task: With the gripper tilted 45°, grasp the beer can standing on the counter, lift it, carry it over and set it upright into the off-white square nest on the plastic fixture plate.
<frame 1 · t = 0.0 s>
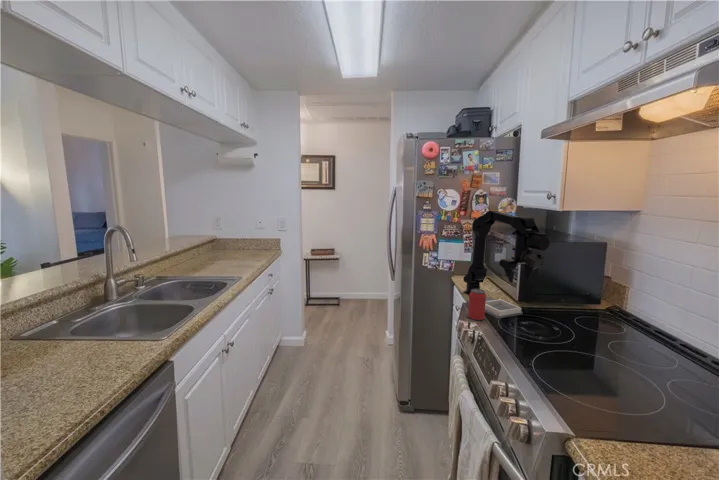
hand: (519, 281, 138), 15 cm above the worktop, tool pointing down, fingers open, 9 cm apart
beer can: (475, 318, 136), on the worktop
fixture plate: (493, 308, 146), on the worktop
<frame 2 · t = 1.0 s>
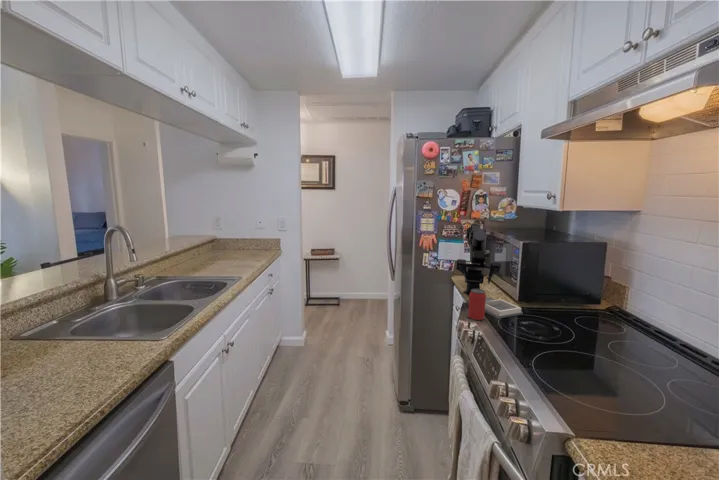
hand: (477, 282, 141), 13 cm above the worktop, tool tilted 45°, fingers open, 9 cm apart
nothing on the worktop moved.
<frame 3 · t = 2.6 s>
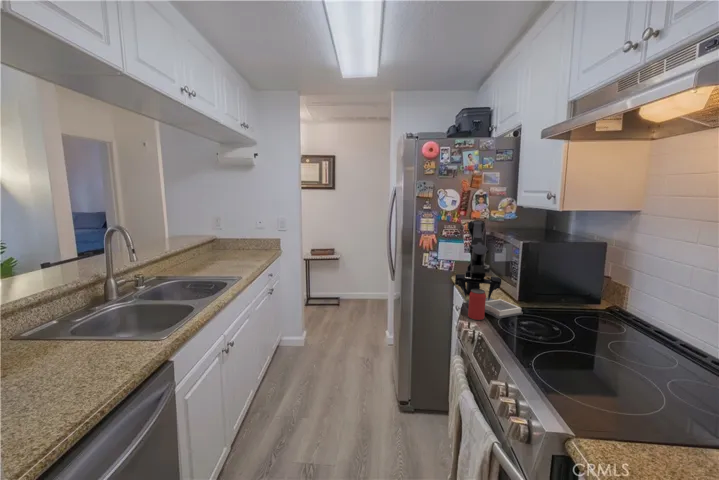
hand: (477, 298, 135), 8 cm above the worktop, tool tilted 45°, fingers open, 9 cm apart
nothing on the worktop moved.
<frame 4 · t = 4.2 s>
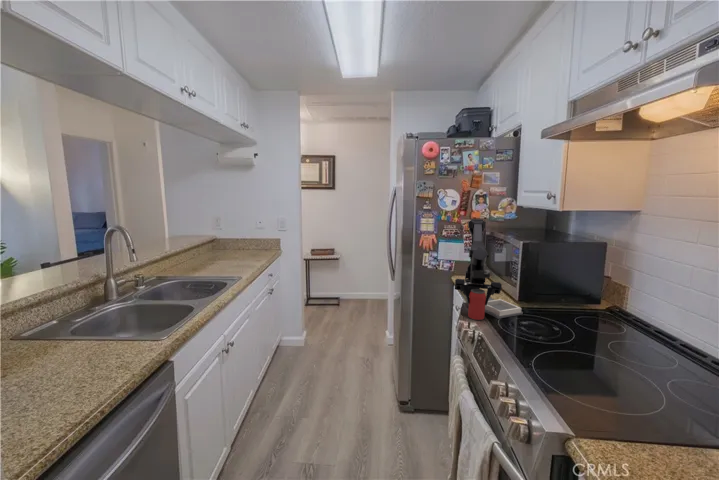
hand: (477, 304, 133), 7 cm above the worktop, tool tilted 45°, fingers closed on beer can, 7 cm apart
beer can: (475, 318, 136), on the worktop, touching gripper
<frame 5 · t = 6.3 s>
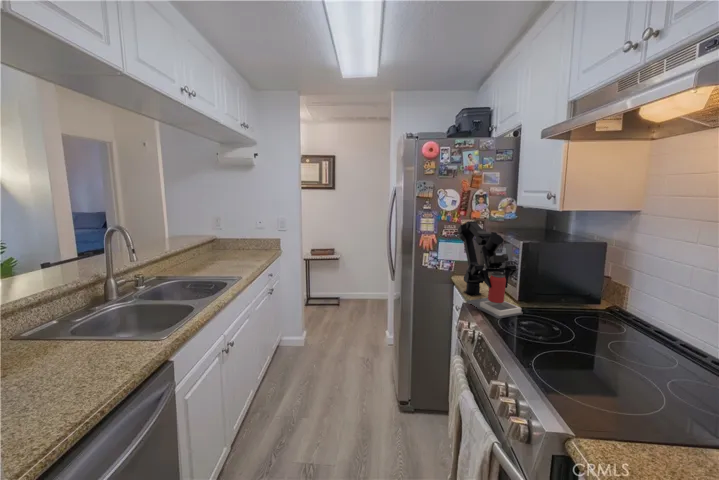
hand: (498, 287, 137), 12 cm above the worktop, tool tilted 45°, fingers closed on beer can, 7 cm apart
beer can: (495, 301, 140), point 5 cm above the worktop, touching gripper
when the fingers open (9 cm above the worktop, at t = 8.4 s): beer can drops 1 cm, resting on fixture plate.
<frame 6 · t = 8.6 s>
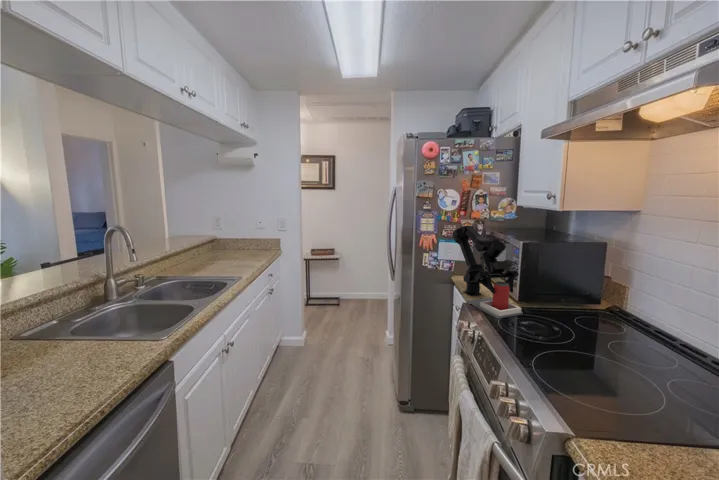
hand: (503, 293, 140), 9 cm above the worktop, tool tilted 45°, fingers open, 8 cm apart
beer can: (499, 309, 143), point 1 cm above the worktop, touching fixture plate
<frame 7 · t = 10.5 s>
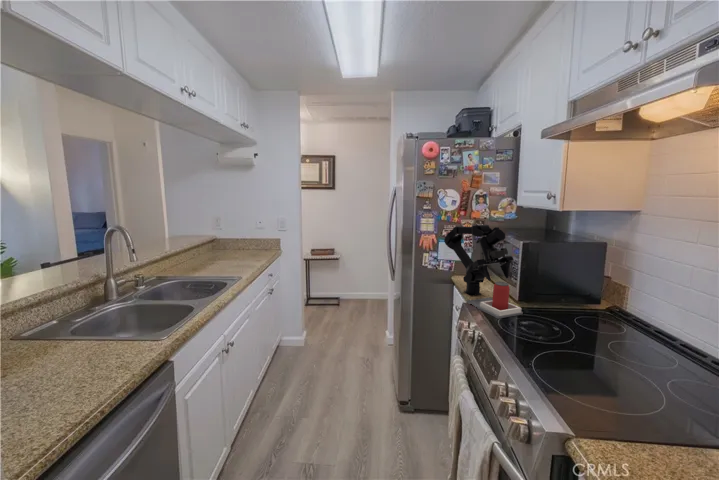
hand: (498, 279, 148), 13 cm above the worktop, tool tilted 35°, fingers open, 9 cm apart
nothing on the worktop moved.
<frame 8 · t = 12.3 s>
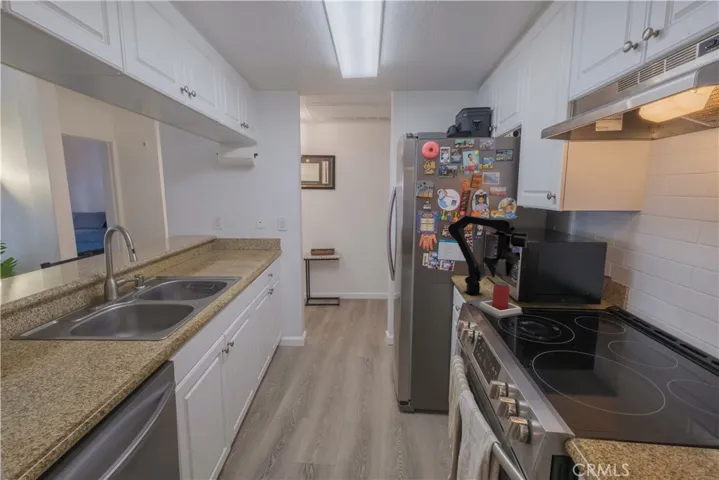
hand: (500, 276, 156), 12 cm above the worktop, tool pointing down, fingers open, 9 cm apart
nothing on the worktop moved.
at the end: beer can 0.2 cm from the target spot on the fixture plate, point 0.8 cm above the fixture plate's base; beer can tilted 0°; the gripper is holding nothing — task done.
